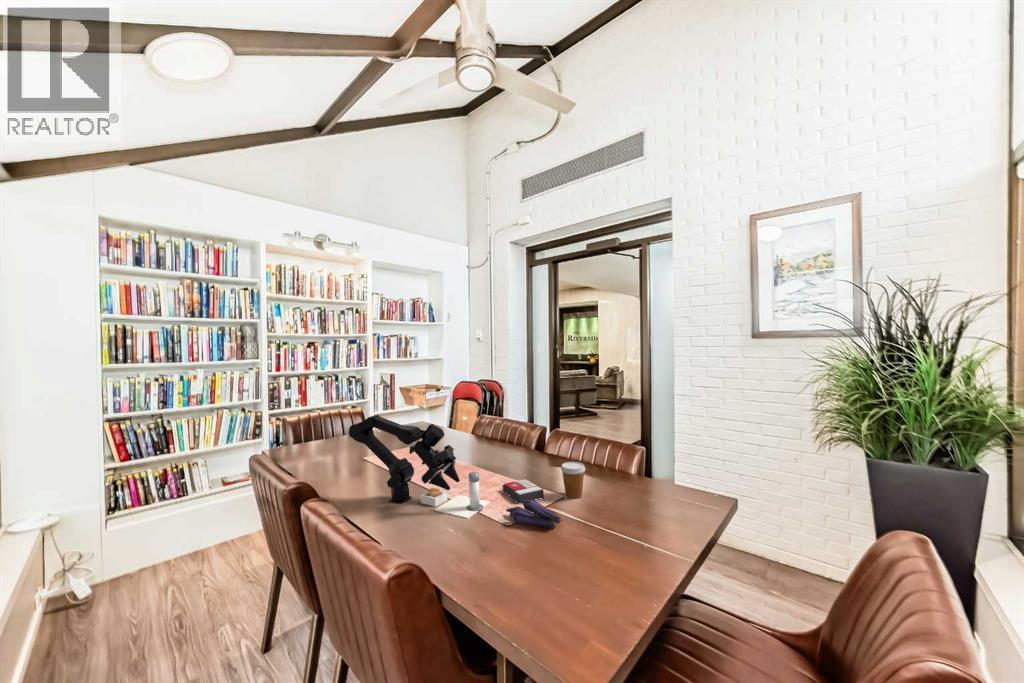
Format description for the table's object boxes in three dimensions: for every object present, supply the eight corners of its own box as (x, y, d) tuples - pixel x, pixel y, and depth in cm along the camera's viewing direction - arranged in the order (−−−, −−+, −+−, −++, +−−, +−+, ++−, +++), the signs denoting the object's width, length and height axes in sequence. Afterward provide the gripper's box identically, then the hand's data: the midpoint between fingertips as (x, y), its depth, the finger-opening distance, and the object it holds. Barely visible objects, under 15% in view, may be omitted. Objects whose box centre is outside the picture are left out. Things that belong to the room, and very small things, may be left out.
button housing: (420, 503, 156) (420, 495, 156) (433, 496, 162) (432, 489, 162) (435, 506, 152) (435, 498, 152) (447, 499, 159) (447, 492, 159)
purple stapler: (565, 505, 136) (517, 488, 148) (546, 522, 127) (497, 502, 139) (565, 525, 137) (518, 506, 149) (547, 543, 128) (498, 521, 140)
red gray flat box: (525, 478, 171) (543, 487, 158) (526, 488, 171) (544, 498, 158) (502, 482, 166) (518, 493, 153) (502, 493, 166) (519, 504, 153)
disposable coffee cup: (590, 497, 157) (589, 467, 157) (569, 502, 153) (568, 470, 153) (577, 489, 166) (577, 460, 165) (557, 493, 162) (556, 463, 162)
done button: (425, 497, 156) (425, 491, 156) (433, 493, 160) (433, 487, 160) (434, 499, 154) (434, 492, 154) (442, 495, 158) (442, 488, 158)
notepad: (434, 510, 149) (434, 509, 149) (458, 496, 162) (458, 494, 162) (469, 519, 141) (469, 517, 141) (492, 503, 154) (492, 501, 154)
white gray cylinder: (467, 507, 150) (466, 473, 150) (476, 504, 152) (475, 471, 152) (473, 510, 147) (472, 476, 147) (482, 507, 150) (481, 473, 149)
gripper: (428, 446, 144) (457, 480, 141) (451, 434, 162) (477, 463, 159) (409, 467, 147) (437, 500, 144) (434, 452, 165) (459, 482, 162)
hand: (454, 485), depth 152 cm, fingers open, 8 cm apart
